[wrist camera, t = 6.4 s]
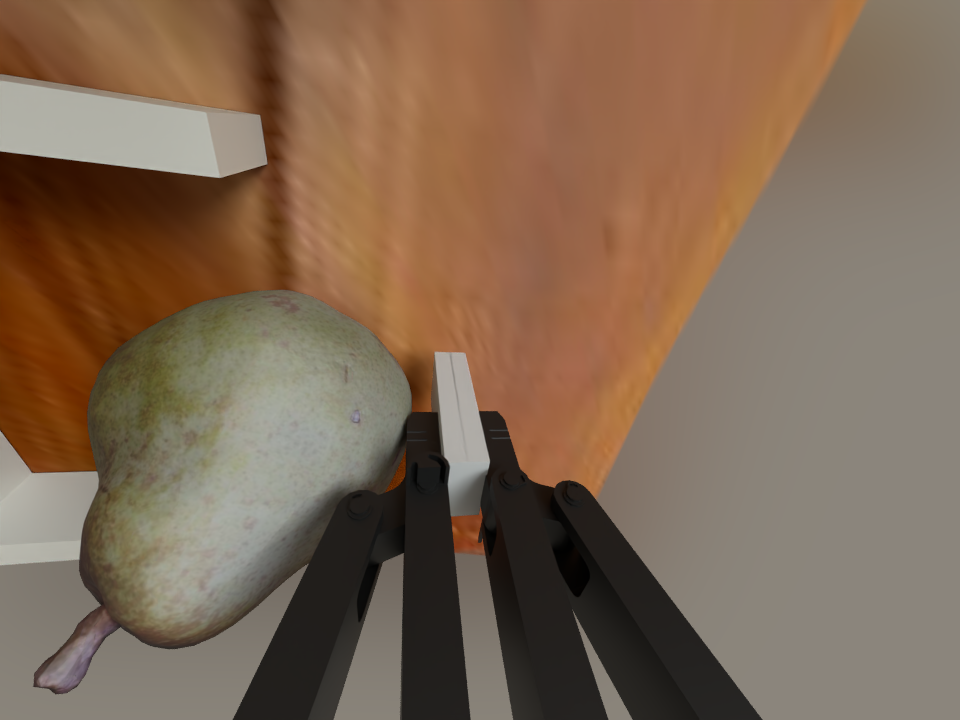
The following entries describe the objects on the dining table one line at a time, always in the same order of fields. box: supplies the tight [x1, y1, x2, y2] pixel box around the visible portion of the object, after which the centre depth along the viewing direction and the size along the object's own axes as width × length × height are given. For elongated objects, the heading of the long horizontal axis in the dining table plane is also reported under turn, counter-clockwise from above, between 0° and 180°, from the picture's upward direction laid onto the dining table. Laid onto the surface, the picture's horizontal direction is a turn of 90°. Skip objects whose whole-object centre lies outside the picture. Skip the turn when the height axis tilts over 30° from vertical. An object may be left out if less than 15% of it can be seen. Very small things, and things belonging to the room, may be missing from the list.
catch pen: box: [0, 74, 267, 565], centre depth 14 cm, size 15×19×4 cm
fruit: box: [34, 290, 412, 694], centre depth 13 cm, size 10×9×12 cm
